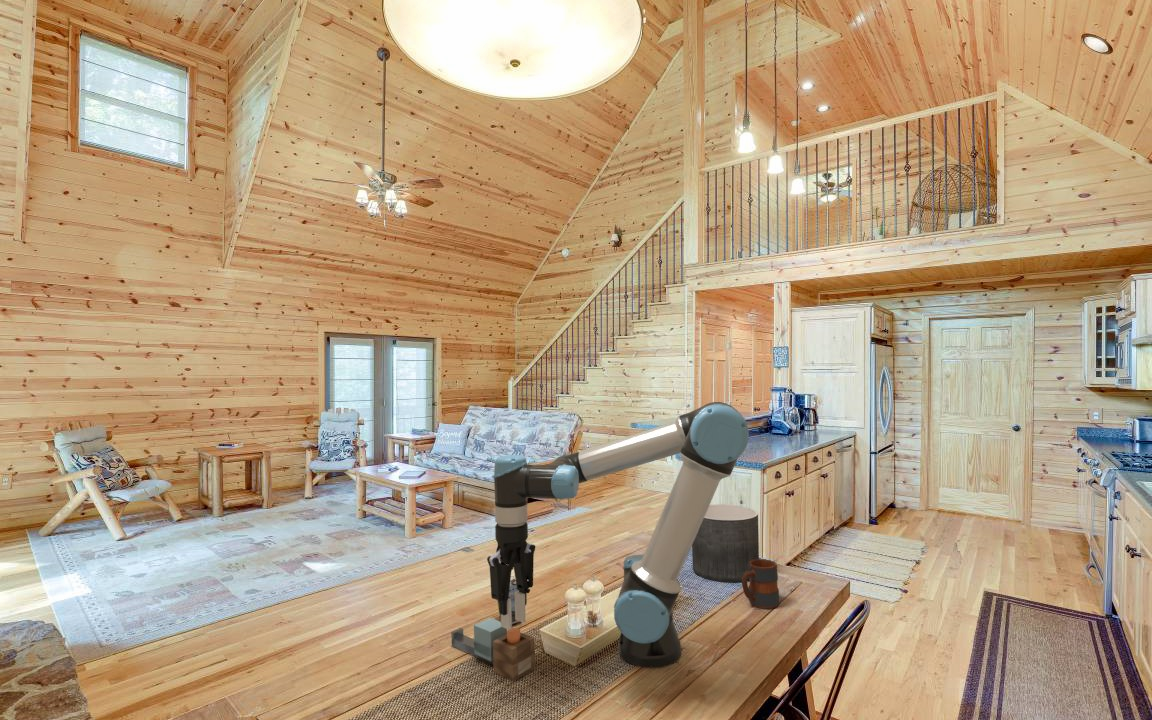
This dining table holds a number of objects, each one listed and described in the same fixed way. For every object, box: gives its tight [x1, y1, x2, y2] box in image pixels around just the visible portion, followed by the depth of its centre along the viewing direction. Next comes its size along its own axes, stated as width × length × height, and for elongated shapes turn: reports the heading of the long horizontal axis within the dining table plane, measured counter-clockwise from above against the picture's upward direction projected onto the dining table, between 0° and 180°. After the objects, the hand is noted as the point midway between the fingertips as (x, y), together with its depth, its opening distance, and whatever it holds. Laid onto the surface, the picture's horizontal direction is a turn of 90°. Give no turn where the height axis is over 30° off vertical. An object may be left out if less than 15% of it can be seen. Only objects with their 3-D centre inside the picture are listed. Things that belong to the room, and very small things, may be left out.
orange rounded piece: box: [507, 627, 521, 646], centre depth 133 cm, size 3×3×4 cm
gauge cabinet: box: [492, 632, 536, 682], centre depth 133 cm, size 7×7×7 cm
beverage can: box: [496, 575, 519, 625], centre depth 159 cm, size 6×7×12 cm
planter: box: [691, 503, 760, 583], centre depth 195 cm, size 22×22×20 cm
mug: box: [741, 558, 780, 610], centre depth 166 cm, size 9×12×12 cm
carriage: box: [473, 617, 508, 661], centre depth 138 cm, size 6×5×7 cm
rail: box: [450, 627, 493, 666], centre depth 141 cm, size 18×3×4 cm, turn 50°
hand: (513, 623), depth 133 cm, fingers open, 4 cm apart
